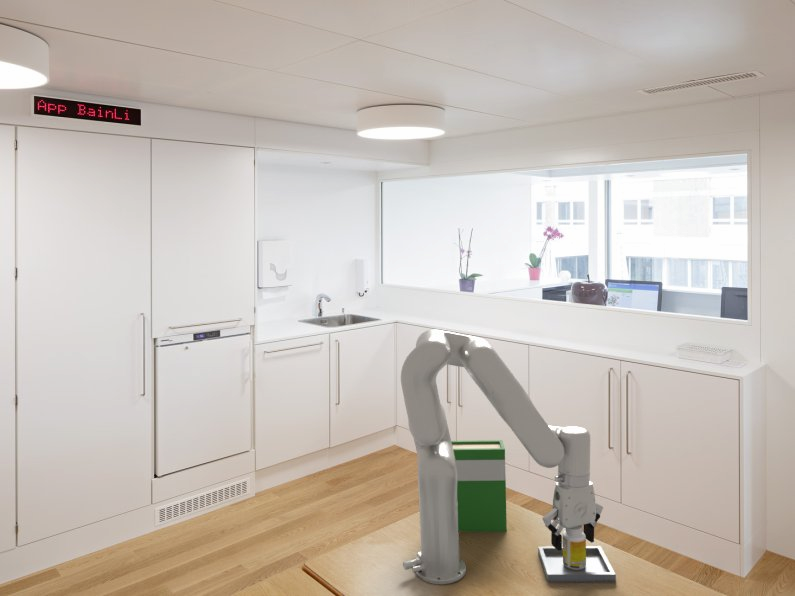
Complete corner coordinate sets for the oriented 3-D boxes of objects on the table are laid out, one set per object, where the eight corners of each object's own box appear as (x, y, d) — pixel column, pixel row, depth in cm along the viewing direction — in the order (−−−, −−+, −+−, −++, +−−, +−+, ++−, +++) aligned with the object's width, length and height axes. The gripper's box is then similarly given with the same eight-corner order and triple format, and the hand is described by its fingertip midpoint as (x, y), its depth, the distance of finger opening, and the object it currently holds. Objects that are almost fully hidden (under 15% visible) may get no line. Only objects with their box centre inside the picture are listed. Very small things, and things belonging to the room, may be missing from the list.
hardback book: (444, 531, 168) (441, 450, 166) (443, 519, 176) (441, 441, 173) (506, 531, 167) (504, 449, 164) (503, 519, 174) (502, 440, 172)
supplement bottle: (590, 565, 147) (590, 526, 146) (577, 573, 144) (577, 533, 143) (571, 556, 152) (570, 518, 151) (558, 564, 148) (557, 525, 147)
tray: (547, 582, 142) (547, 574, 142) (538, 553, 155) (538, 546, 154) (615, 582, 141) (615, 574, 141) (600, 553, 154) (600, 546, 153)
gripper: (553, 489, 139) (553, 558, 141) (612, 477, 145) (611, 544, 147) (535, 477, 146) (534, 543, 147) (592, 466, 152) (590, 530, 154)
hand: (572, 543), depth 147 cm, fingers open, 9 cm apart
